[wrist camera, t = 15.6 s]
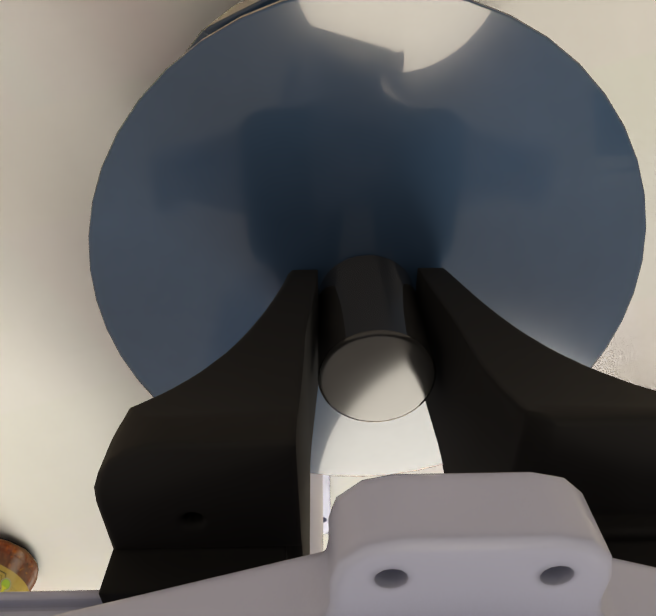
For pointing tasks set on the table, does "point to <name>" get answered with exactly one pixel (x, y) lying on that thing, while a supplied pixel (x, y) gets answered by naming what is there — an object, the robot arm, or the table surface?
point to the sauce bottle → (16, 568)
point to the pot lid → (365, 204)
